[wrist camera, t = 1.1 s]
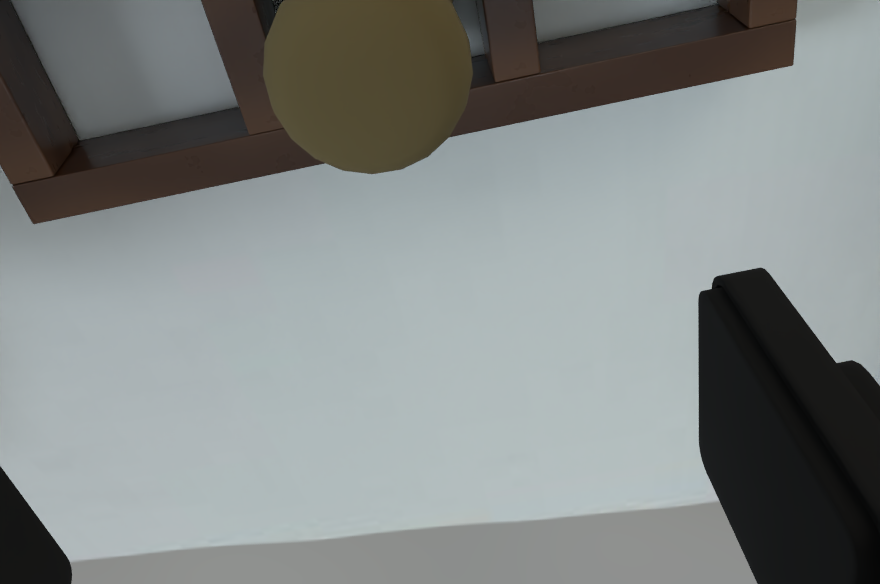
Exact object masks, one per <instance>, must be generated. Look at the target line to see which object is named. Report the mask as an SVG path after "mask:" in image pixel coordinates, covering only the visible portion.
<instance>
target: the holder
mask: <svg viewBox="0 0 880 584" xmlns="http://www.w3.org/2000/svg"><path fill="white" fill-rule="evenodd" d="M201 2H202V5H203V7H204V10H205V13H206V16H207V18H208V21H209V24H210V27H211V30H212V32H213V35H214V38H215V41H216V44H217V46H218V49H219V52H220V55H221V57H222V60H223V63H224V66H225V69H226V71H227V74H228V77H229V80H230V83H231V85H232V88H233V91H234V94H235V97H236V99H237V102H238V105H239V108H234V109H229V110H225V111H220V112H215V113H211V114H206V115H201V116H196V117H192V118H187V119H182V120H178V121H173V122H168V123H164V124H159V125H154V126H150V127H145V128H140V129H136V130H131V131H126V132H122V133H117V134H112V135H108V136H103V137H98V138H94V139H89V140H84V141H80V142H78V138H77V136H76V134H75V132H74V130H73V128H72V126H71V124H70V122H69V120H68V118H67V116H66V114H65V112H64V110H63V107H62V105H61V103H60V101H59V99H58V97H57V95H56V93H55V91H54V89H53V87H52V85H51V83H50V81H49V79H48V77H47V75H46V73H45V71H44V69H43V67H42V65H41V63H40V61H39V59H38V57H37V55H36V53H35V51H34V49H33V47H32V45H31V43H30V41H29V39H28V37H27V35H26V33H25V31H24V29H23V27H22V25H21V23H20V21H19V19H18V17H17V15H16V13H15V11H14V9H13V7H12V5H11V3H10V1H9V0H0V165H1V167H2V169H3V171H4V172H5V174H6V176H7V178H8V180H9V181H10V183H11V184H12V188H13V189H14V191H15V193H16V195H17V196H18V198H19V200H20V202H21V203H22V205H23V207H24V209H25V210H26V212H27V214H28V216H29V217H30V219H31V221H32V223H33V224H37V223H42V222H46V221H51V220H56V219H61V218H66V217H70V216H75V215H80V214H85V213H89V212H94V211H99V210H104V209H109V208H113V207H118V206H123V205H128V204H132V203H137V202H142V201H147V200H152V199H156V198H161V197H166V196H171V195H175V194H180V193H185V192H190V191H195V190H199V189H204V188H209V187H214V186H219V185H223V184H228V183H233V182H238V181H242V180H247V179H252V178H257V177H262V176H266V175H271V174H276V173H281V172H285V171H290V170H295V169H300V168H305V167H309V166H314V165H319V164H324V162H322V161H320V160H317V159H315V158H314V157H312V156H311V155H310V154H309V153H308V152H306V151H305V150H304V149H303V148H302V147H300V146H299V145H298V144H297V143H296V142H294V141H293V140H292V139H291V138H290V136H289V135H288V133H287V132H286V130H285V129H284V127H283V126H282V124H281V123H280V121H279V120H278V118H277V117H276V115H275V113H274V111H273V109H272V106H271V102H270V99H269V95H268V92H267V88H266V85H265V81H264V77H263V64H264V43H265V40H266V38H267V35H268V33H269V30H270V28H271V25H272V23H273V20H274V18H275V15H276V13H275V10H274V7H273V4H272V0H201ZM476 3H477V9H478V16H479V22H480V28H481V34H482V41H483V47H484V53H485V55H482V56H477V57H472V58H471V60H472V69H473V76H472V81H471V86H470V91H469V96H468V101H467V105H466V107H465V110H464V112H463V114H462V115H461V117H460V119H459V121H458V122H457V124H456V126H455V128H454V130H453V131H452V133H451V135H450V137H453V136H458V135H462V134H467V133H472V132H477V131H481V130H486V129H491V128H496V127H501V126H505V125H510V124H515V123H520V122H525V121H529V120H534V119H539V118H544V117H548V116H553V115H558V114H563V113H568V112H572V111H577V110H582V109H587V108H591V107H596V106H601V105H606V104H611V103H615V102H620V101H625V100H630V99H634V98H639V97H644V96H649V95H654V94H658V93H663V92H668V91H673V90H678V89H682V88H687V87H692V86H697V85H701V84H706V83H711V82H716V81H721V80H725V79H730V78H735V77H740V76H744V75H749V74H754V73H759V72H764V71H768V70H773V69H778V68H783V67H788V66H792V65H793V60H794V46H795V32H796V20H795V18H796V11H797V0H718V4H719V5H715V6H711V7H706V8H701V9H697V10H692V11H687V12H683V13H678V14H673V15H669V16H664V17H659V18H654V19H650V20H645V21H640V22H636V23H631V24H626V25H622V26H617V27H612V28H608V29H603V30H598V31H594V32H589V33H584V34H580V35H575V36H570V37H566V38H561V39H556V40H552V41H547V42H542V43H538V42H537V34H536V26H535V18H534V9H533V1H532V0H476Z"/></svg>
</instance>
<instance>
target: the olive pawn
mask: <svg viewBox="0 0 880 584" xmlns="http://www.w3.org/2000/svg"><path fill="white" fill-rule="evenodd" d="M452 2H453V0H284V1H283V2H282V3H281V4H280V5H279V8H278V10H277V13H276V15H275V18H274V20H273V23H272V25H271V28H270V30H269V33H268V35H267V38H266V40H265V43H264V64H263V77H264V81H265V85H266V88H267V92H268V95H269V99H270V102H271V106H272V109H273V111H274V113H275V115H276V117H277V118H278V120H279V121H280V123H281V124H282V126H283V127H284V129H285V130H286V132H287V133H288V135H289V136H290V138H291V139H292V140H293V141H294V142H296V143H297V144H298V145H299V146H300V147H302V148H303V149H304V150H305V151H306V152H308V153H309V154H310V155H311V156H312V157H314V158H315V159H317V160H320V161H322V162H324V163H327V164H329V165H331V166H334V167H336V168H338V169H341V170H344V171H352V172H360V173H368V174H376V173H382V172H388V171H394V170H400V169H403V168H405V167H407V166H409V165H412V164H414V163H416V162H418V161H420V160H422V159H424V158H426V157H428V156H429V155H430V154H431V153H432V152H433V151H435V150H436V149H437V148H438V147H439V146H440V145H441V144H442V143H443V142H444V141H445V140H446V139H447V138H448V137H450V135H451V133H452V131H453V130H454V128H455V126H456V124H457V122H458V121H459V119H460V117H461V115H462V114H463V112H464V110H465V107H466V105H467V101H468V96H469V91H470V86H471V81H472V76H473V69H472V60H471V52H470V44H469V39H468V37H467V34H466V32H465V30H464V28H463V26H462V23H461V21H460V19H459V17H458V15H457V13H456V11H455V9H454V6H453V4H452Z"/></svg>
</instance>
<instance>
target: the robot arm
mask: <svg viewBox="0 0 880 584" xmlns="http://www.w3.org/2000/svg"><path fill="white" fill-rule="evenodd" d="M698 306H699V447H700V453H701V457H702V461H703V464H704V467H705V470H706V472H707V474H708V477H709V479H710V481H711V483H712V485H713V487H714V490H715V492H716V494H717V496H718V498H719V501H720V503H721V505H722V507H723V509H724V511H725V514H726V516H727V518H728V520H729V522H730V525H731V527H732V529H733V531H734V533H735V535H736V538H737V540H738V542H739V544H740V546H741V549H742V551H743V553H744V555H745V557H746V559H747V561H748V564H749V566H750V568H751V570H752V573H753V575H754V577H755V579H756V581H757V583H758V584H880V386H879V384H878V383H877V382H876V381H875V379H874V378H873V377H872V376H871V374H870V373H869V372H868V371H867V370H866V369H865V368H864V367H863V366H862V365H861V364H859V363H857V362H855V361H853V360H851V361H846V362H841V363H836V362H835V361H834V359H833V358H832V357H831V355H830V354H829V353H828V351H827V350H826V349H825V347H824V346H823V345H822V343H821V342H820V341H819V339H818V338H817V337H816V335H815V334H814V333H813V331H812V330H811V329H810V327H809V326H808V325H807V323H806V322H805V321H804V319H803V318H802V317H801V315H800V314H799V313H798V311H797V310H796V309H795V307H794V306H793V305H792V303H791V302H790V301H789V299H788V298H787V297H786V295H785V294H784V293H783V291H782V290H781V289H780V287H779V286H778V285H777V283H776V282H775V281H774V279H773V278H772V277H771V275H770V274H769V273H768V272H767V271H766V270H765V269H763V268H757V269H752V270H746V271H741V272H736V273H731V274H726V275H721V276H717V277H715V278H714V280H713V283H712V289H710V290H705V291H701V292H700V294H699V302H698ZM71 580H72V570H71V565H70V562H69V560H68V558H67V556H66V555H65V554H64V552H63V551H62V550H61V548H60V547H59V545H58V544H57V543H56V541H55V540H54V539H53V537H52V536H51V535H50V533H49V532H48V531H47V529H46V528H45V526H44V525H43V524H42V522H41V521H40V520H39V518H38V517H37V516H36V514H35V513H34V511H33V510H32V509H31V507H30V506H29V505H28V503H27V502H26V501H25V499H24V498H23V496H22V495H21V494H20V492H19V491H18V490H17V488H16V487H15V486H14V484H13V483H12V482H11V480H10V479H9V477H8V476H7V475H6V473H5V472H4V471H3V469H2V468H1V467H0V584H71Z"/></svg>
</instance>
